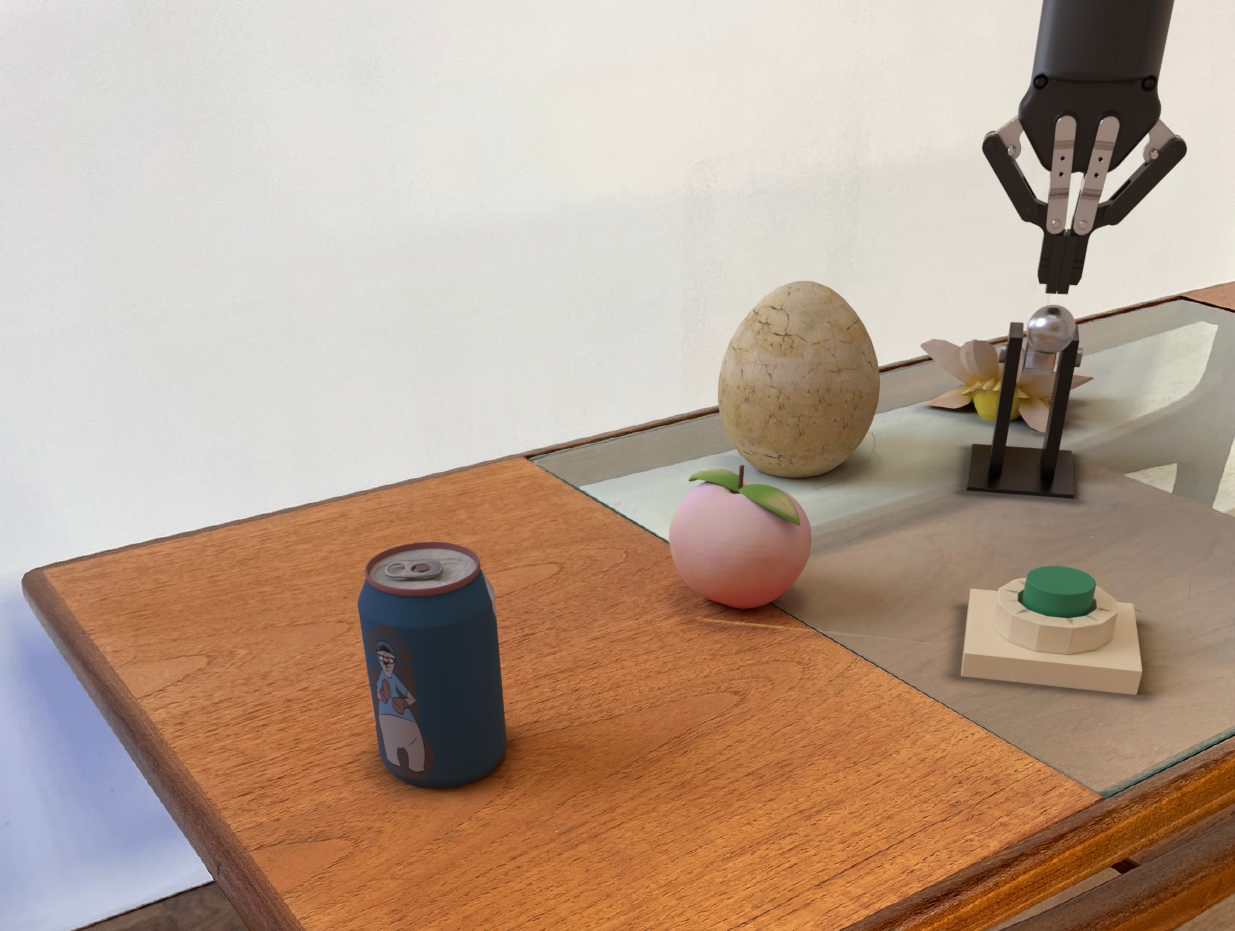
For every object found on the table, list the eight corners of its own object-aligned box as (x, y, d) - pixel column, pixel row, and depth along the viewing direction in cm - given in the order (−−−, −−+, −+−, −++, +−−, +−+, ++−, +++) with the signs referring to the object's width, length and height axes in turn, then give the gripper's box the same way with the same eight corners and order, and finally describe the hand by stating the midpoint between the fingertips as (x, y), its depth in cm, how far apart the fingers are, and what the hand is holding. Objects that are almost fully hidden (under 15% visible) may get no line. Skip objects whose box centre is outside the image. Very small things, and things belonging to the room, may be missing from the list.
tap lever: (1073, 351, 86) (1081, 301, 86) (1024, 348, 87) (1031, 299, 86) (1056, 381, 99) (1063, 338, 98) (1014, 379, 99) (1020, 335, 99)
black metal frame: (1071, 509, 98) (1102, 352, 92) (964, 501, 100) (987, 346, 93) (1069, 464, 106) (1097, 316, 99) (970, 457, 108) (991, 311, 101)
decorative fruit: (640, 617, 85) (639, 471, 79) (709, 574, 90) (712, 434, 84) (761, 656, 80) (768, 504, 75) (826, 608, 86) (838, 462, 80)
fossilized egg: (686, 484, 104) (689, 290, 96) (761, 438, 113) (770, 256, 104) (828, 515, 99) (845, 312, 90) (895, 464, 107) (917, 274, 98)
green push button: (1089, 595, 78) (1095, 568, 77) (1091, 624, 75) (1097, 597, 74) (1022, 589, 79) (1026, 562, 78) (1021, 617, 76) (1026, 590, 75)
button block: (1126, 634, 82) (1140, 576, 79) (1134, 704, 75) (1149, 643, 72) (965, 618, 84) (974, 562, 82) (959, 685, 77) (968, 625, 75)
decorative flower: (1129, 398, 114) (1134, 287, 107) (1070, 462, 109) (1071, 350, 102) (976, 379, 123) (972, 276, 116) (915, 437, 118) (906, 333, 111)
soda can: (511, 731, 74) (495, 534, 67) (505, 799, 68) (487, 593, 61) (390, 734, 74) (362, 538, 67) (374, 803, 68) (342, 597, 61)
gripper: (994, -11, 75) (953, 300, 85) (1236, -12, 72) (1164, 310, 82) (997, -18, 81) (959, 274, 91) (1222, -19, 78) (1156, 283, 88)
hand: (1056, 291), depth 86 cm, fingers closed
